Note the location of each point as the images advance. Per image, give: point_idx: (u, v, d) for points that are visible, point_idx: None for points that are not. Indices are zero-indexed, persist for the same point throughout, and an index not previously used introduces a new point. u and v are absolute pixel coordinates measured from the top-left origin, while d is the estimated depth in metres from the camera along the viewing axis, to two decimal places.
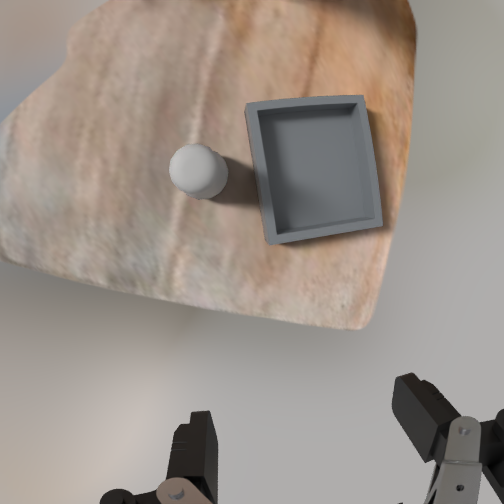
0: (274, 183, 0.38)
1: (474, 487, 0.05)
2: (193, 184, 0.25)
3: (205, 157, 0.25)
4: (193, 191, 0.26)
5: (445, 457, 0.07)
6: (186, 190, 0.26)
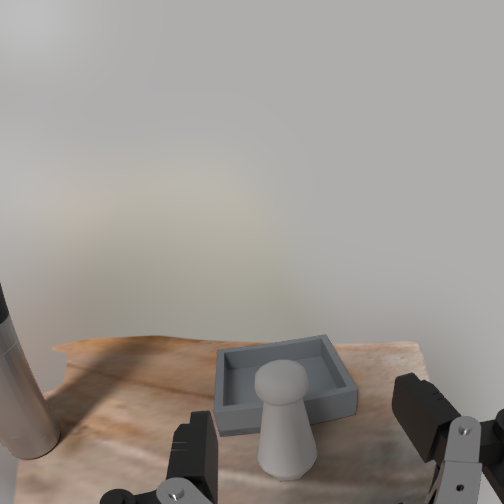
0: None
1: (474, 487, 0.05)
2: (297, 368, 0.24)
3: (270, 363, 0.25)
4: (305, 372, 0.24)
5: (445, 457, 0.07)
6: (304, 376, 0.23)
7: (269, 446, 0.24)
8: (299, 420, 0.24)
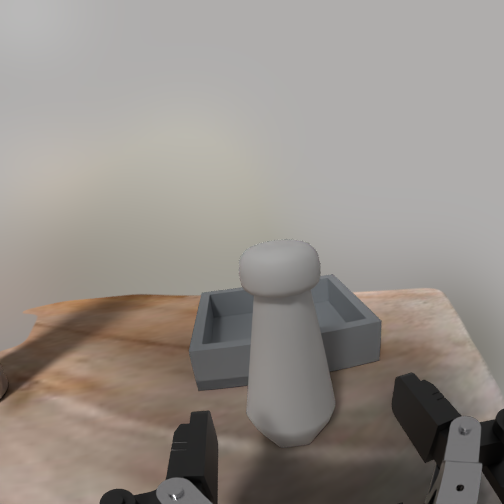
0: None
1: (474, 487, 0.05)
2: (303, 243, 0.17)
3: None
4: (314, 249, 0.17)
5: (445, 457, 0.07)
6: (313, 252, 0.16)
7: (263, 381, 0.17)
8: (309, 332, 0.17)
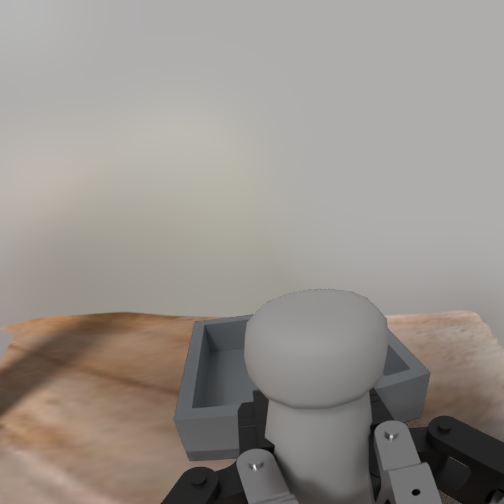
0: None
1: (431, 487, 0.06)
2: (361, 301, 0.09)
3: (286, 296, 0.10)
4: None
5: (383, 466, 0.07)
6: (382, 320, 0.08)
7: None
8: (360, 441, 0.09)
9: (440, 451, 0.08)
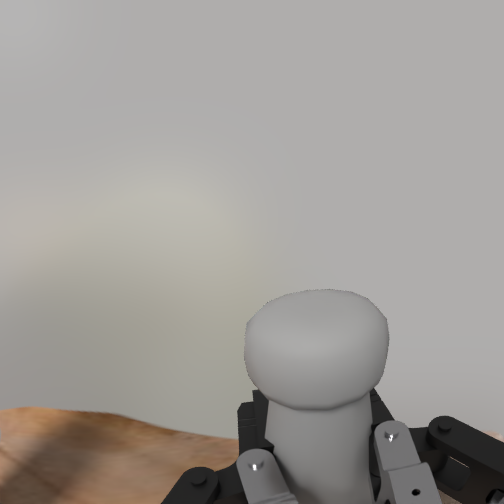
0: None
1: (431, 487, 0.06)
2: (361, 302, 0.09)
3: (286, 296, 0.10)
4: (380, 312, 0.09)
5: (383, 466, 0.07)
6: (382, 321, 0.08)
7: None
8: (360, 442, 0.09)
9: (440, 451, 0.08)
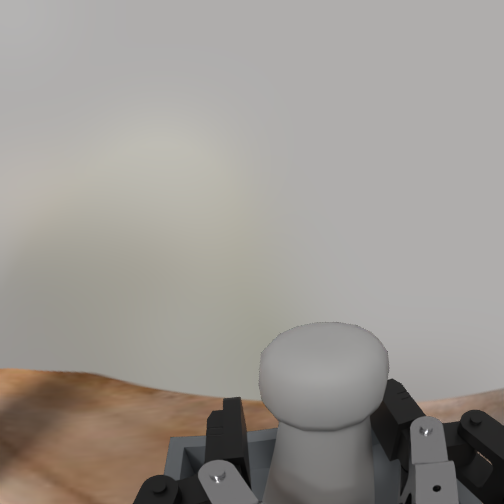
0: None
1: (451, 485, 0.05)
2: (365, 336, 0.10)
3: (297, 329, 0.11)
4: (382, 344, 0.10)
5: (412, 460, 0.07)
6: (383, 353, 0.09)
7: None
8: (360, 459, 0.09)
9: None
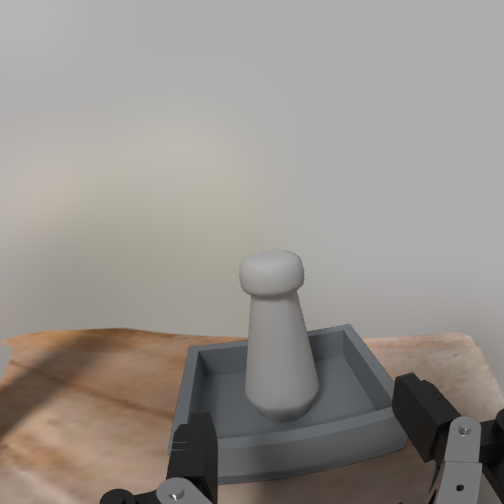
0: None
1: (474, 487, 0.05)
2: (290, 253, 0.21)
3: None
4: (299, 258, 0.21)
5: (445, 457, 0.07)
6: (298, 260, 0.21)
7: (258, 364, 0.21)
8: (295, 324, 0.21)
9: None
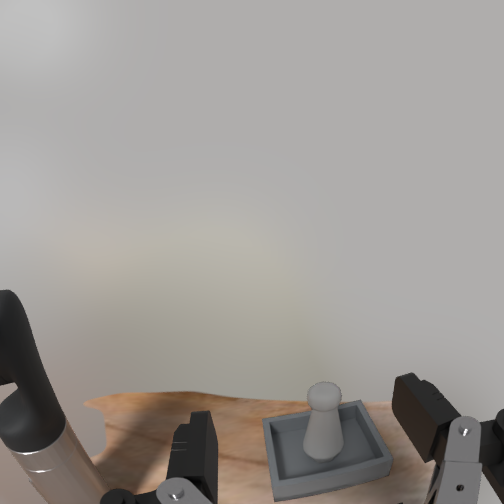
0: None
1: (474, 487, 0.05)
2: (335, 387, 0.36)
3: (317, 384, 0.37)
4: (339, 389, 0.36)
5: (445, 457, 0.07)
6: (339, 392, 0.36)
7: (314, 438, 0.36)
8: (335, 420, 0.36)
9: None
